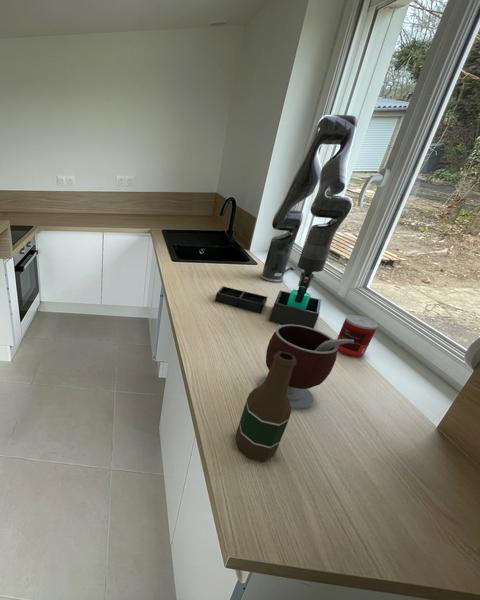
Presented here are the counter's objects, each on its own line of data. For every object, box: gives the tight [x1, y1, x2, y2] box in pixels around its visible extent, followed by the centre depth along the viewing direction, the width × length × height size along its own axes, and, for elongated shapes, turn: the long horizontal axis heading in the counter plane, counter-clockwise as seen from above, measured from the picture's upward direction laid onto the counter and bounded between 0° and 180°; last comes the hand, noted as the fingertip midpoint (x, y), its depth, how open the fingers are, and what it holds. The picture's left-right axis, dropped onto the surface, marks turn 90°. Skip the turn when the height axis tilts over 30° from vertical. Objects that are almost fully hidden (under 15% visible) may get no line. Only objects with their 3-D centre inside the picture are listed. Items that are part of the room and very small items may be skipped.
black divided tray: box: [214, 285, 268, 315], centre depth 132 cm, size 9×18×4 cm, turn 53°
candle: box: [287, 289, 312, 310], centre depth 119 cm, size 6×6×12 cm
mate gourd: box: [258, 324, 354, 410], centre depth 80 cm, size 16×14×20 cm
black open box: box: [268, 290, 322, 329], centre depth 120 cm, size 15×14×8 cm
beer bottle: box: [235, 351, 297, 463], centre depth 64 cm, size 8×8×24 cm
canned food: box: [336, 314, 379, 358], centre depth 101 cm, size 8×8×11 cm
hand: (299, 298), depth 118 cm, fingers open, 8 cm apart
